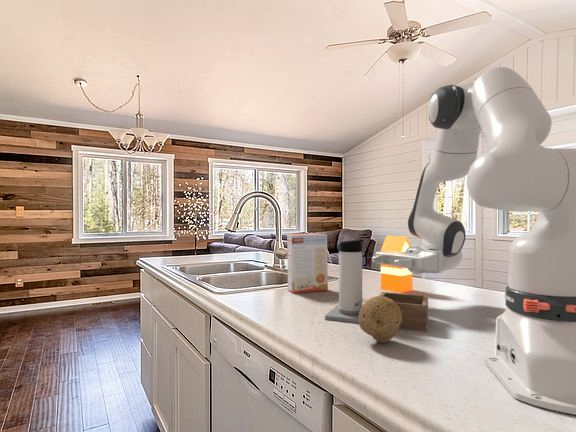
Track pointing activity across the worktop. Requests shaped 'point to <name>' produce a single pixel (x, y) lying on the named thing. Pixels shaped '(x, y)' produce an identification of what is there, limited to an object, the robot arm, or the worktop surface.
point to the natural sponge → (380, 318)
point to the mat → (341, 316)
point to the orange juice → (393, 275)
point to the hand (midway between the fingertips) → (384, 261)
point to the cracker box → (307, 262)
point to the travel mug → (350, 277)
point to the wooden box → (411, 310)
